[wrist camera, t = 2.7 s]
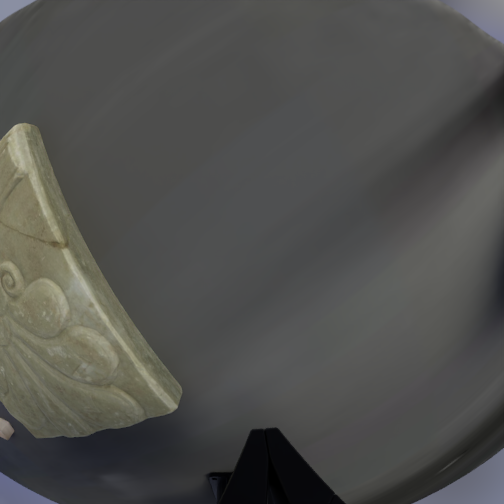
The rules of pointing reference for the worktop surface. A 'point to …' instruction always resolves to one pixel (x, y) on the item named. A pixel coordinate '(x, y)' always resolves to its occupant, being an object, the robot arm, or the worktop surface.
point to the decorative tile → (64, 314)
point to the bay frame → (5, 429)
